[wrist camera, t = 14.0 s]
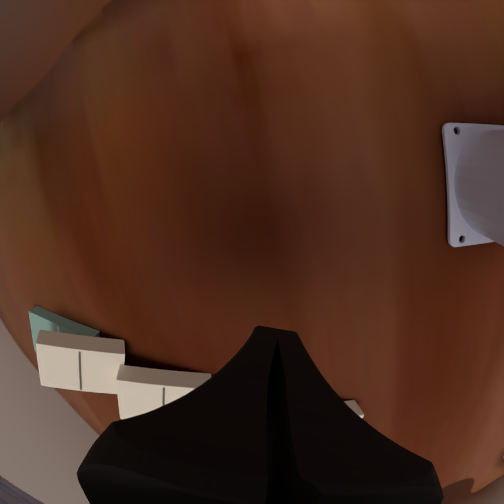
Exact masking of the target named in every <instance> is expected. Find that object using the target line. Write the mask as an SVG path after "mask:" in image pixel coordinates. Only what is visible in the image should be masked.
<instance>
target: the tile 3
mask: <svg viewBox="0 0 504 504" xmlns="http://www.w3.org/2000/svg"><path fill="white" fill-rule="evenodd" d="M210 378H211V374H210V373H196V372H183V371H172V370H161V369H152V368H143V367H135V366H128V365H120V366H119V370H118V374H117V378H116V384H117V394H118V403H119V412H120V419H127V418H130V417H134V416H137V415H140V414H144V413H147V412H149V411H152V410H154V409H157V408H159V407H161V406H163V405H166V404H168V403H170V402H172V401H174V400H176V399H178V398H180V397H182V396H184V395H186V394H187V393H189V392H190V391H192V390H194V389H195V388H197V387H198V386H200V385H201V384H203V383H204V382H206V381H207V380H208V379H210Z"/></svg>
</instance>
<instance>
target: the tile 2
mask: <svg viewBox="0 0 504 504" xmlns="http://www.w3.org/2000/svg"><path fill="white" fill-rule="evenodd" d="M36 351H37V360H38V367H39V375H40V381H41V385H42V386H49V387H55V388H63V389H71V390H79V391H88V392H99V393H111V394H117V384H116V378H117V374H118V370H119V366H120V365H124V361H125V346H124V340H120V339H110V338H100V337H91V336H83V335H75V334H68V333H61V332H54V331H47V330H41V329H40V330H39V333H38V337H37V340H36Z"/></svg>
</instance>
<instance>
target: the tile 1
mask: <svg viewBox="0 0 504 504" xmlns="http://www.w3.org/2000/svg"><path fill="white" fill-rule="evenodd" d="M29 317H30V324H31V331H32V337H33V343H34V349H35V352H37V351H36V340H37V337H38V333H39V330H40V329H41V330H47V331H54V332H61V333H68V334H75V335H83V336H91V337H100V331H98V330H95V329H92V328H90V327H87V326H84V325H82V324H79V323H77V322H74V321H72V320H69V319H67V318H64V317H62V316H59V315H57V314H55V313H52V312H50V311H48V310H45V309H43V308H41V307H38V306H36V307H34V308H33V309H32V310H30V311H29Z"/></svg>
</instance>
